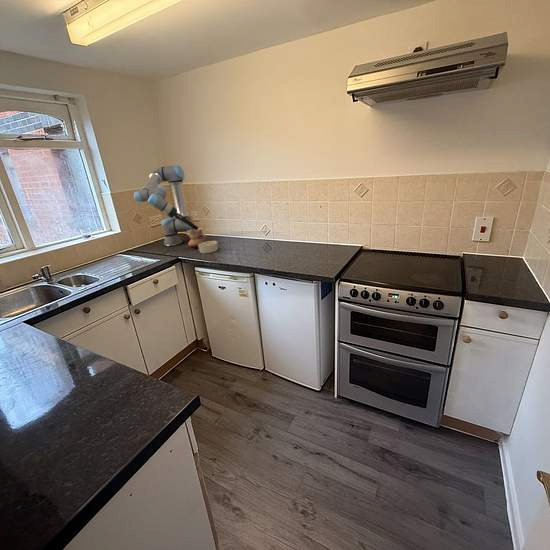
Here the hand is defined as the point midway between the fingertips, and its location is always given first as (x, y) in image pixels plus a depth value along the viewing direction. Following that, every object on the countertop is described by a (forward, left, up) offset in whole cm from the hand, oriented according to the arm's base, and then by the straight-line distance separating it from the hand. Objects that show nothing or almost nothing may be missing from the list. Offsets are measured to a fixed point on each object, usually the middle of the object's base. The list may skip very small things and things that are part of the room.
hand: (196, 228), depth 227 cm
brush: (+2, -2, -5) cm, 6 cm away
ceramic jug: (-14, -8, -18) cm, 24 cm away
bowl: (+1, +7, -18) cm, 19 cm away
